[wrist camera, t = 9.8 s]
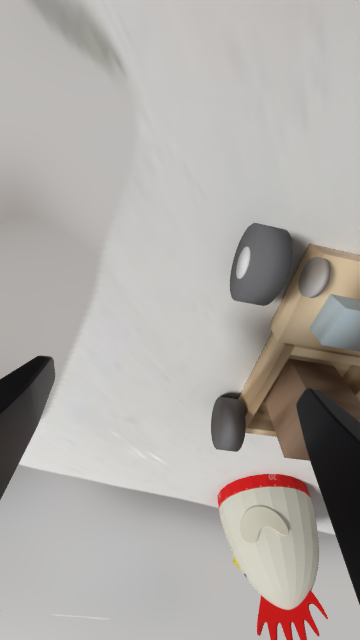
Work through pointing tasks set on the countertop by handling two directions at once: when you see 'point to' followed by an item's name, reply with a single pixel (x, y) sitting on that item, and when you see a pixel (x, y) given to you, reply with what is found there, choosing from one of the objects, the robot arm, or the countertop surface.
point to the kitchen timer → (274, 547)
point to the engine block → (289, 391)
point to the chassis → (300, 341)
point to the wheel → (260, 264)
